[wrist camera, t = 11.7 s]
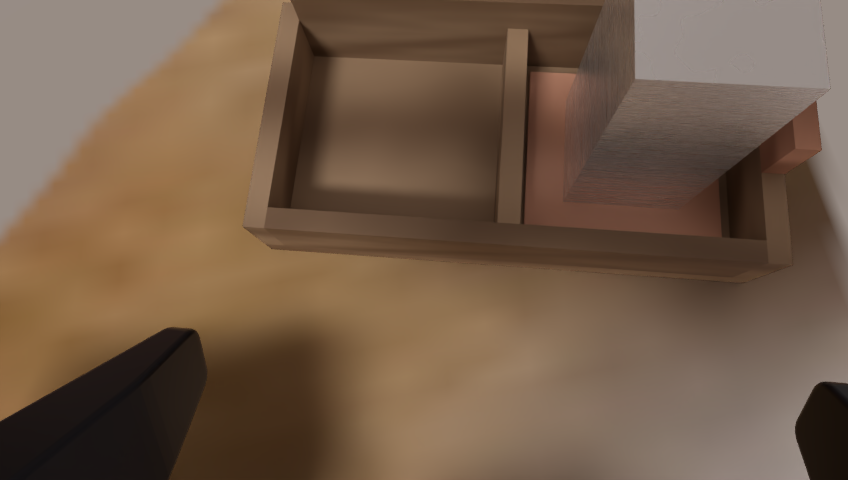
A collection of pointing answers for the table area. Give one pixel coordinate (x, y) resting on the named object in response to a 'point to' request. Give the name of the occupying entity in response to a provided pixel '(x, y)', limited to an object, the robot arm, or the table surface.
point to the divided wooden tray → (479, 149)
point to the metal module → (685, 94)
